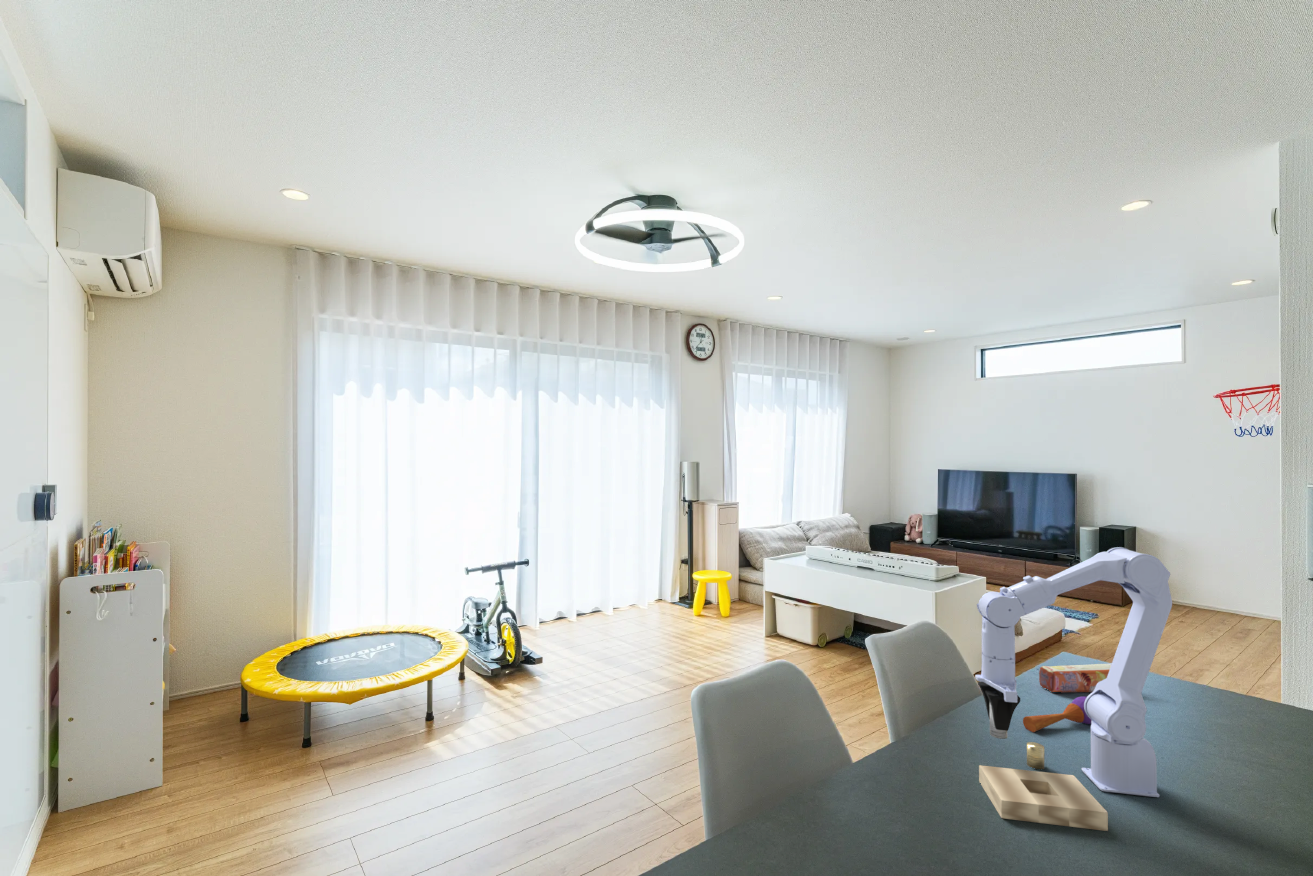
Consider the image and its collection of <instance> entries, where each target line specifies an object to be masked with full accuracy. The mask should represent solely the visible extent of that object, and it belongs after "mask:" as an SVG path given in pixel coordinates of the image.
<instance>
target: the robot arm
mask: <svg viewBox="0 0 1313 876" xmlns="http://www.w3.org/2000/svg"><path fill="white" fill-rule="evenodd" d="M1170 577H1171V572H1170V571H1169V569H1167V567H1166V566H1165V565H1164V563H1163V562H1162V561H1161V560H1160V559H1159V558H1158V557H1156V556H1154V555H1152V554H1147V553H1141V552H1138V551H1135V550H1130V549H1128V548H1126V547H1122V546H1119V547H1118V546H1117V547H1111V548H1109V549H1108V550H1107V551H1101V552H1098V553H1096V554H1094V555H1093V556H1092V557H1090V558H1087V559H1086V560H1084V561H1081V562H1079V563H1077V564H1075V565H1072V566H1070V567H1069V568H1067V569H1064V570H1062V571H1060V572H1057V573H1056V574H1053V575H1051V576H1049V577H1047V578H1043V577H1041V576H1038V575H1035V576H1033V577H1032V576H1031V575H1026V576H1023V578H1022V579H1023V581H1020V582H1017V583H1015V584H1012V585H1011V586H1009V587H1005V586H1002V587H999V592H998V591H989V592H985V593H984V594H983V595H982V596H981V597H980V598H979V601H978V603H977V604H976V608H977V611H978V613H979V614H980V615H981V674H975V677H974V678H975V679H976V681H977V685H978V687H979V689H980V692H981V693H982V696H983V699H984V704H985V707H986V712H987V713H986V714H987V716H988V717H987V718H988V719H989V721H990V704H991V708H992V713H993V720H994V725H995V728H996V729H997V730H1005V731H1007V732H1008V731H1009V730H1010V729H1009V728H1010V725H1011V721H1012V717H1013V714H1014V712H1015V710H1016V708H1017V707H1018V705H1019V704H1020V703H1021V697H1020V696H1019V695H1018V691H1017V680H1016V634H1015V626H1016V625H1017V624H1018V622H1019V621H1020V619H1021V617H1025V616H1027V615H1029V614H1032V613H1035V612H1036V611H1039V610H1041V609H1044V608H1046V607H1049V606H1051V605H1054V604H1055V602H1056V600H1057V597H1058V595H1061V594H1063V593H1067V592H1070V591H1073V590H1075V589H1078V588H1082V587H1084V586H1087V585H1089V584H1093V583H1096V582H1099V581H1103V582H1110V583H1116V584H1118V585H1120V586H1121V587H1122V589H1124V591H1125V592H1126V594H1127V595H1128V596H1129V598H1130V599H1131V601H1132V606H1131V608H1130V611H1129V613H1128V616H1127V620H1126V621H1125V624H1124V628H1123V631H1122V634H1121V636H1120V638H1119V643H1118V645H1117V648H1116V651H1115V654H1114V656H1113V659H1112V662H1111V663H1112V665H1111V667H1110V670H1109V673H1108V676H1107V678H1106V679H1104V680H1102V681H1100V682H1098V683H1097V685H1096V687H1095V689H1094V691H1093V692H1090V694H1088V695H1087V696H1086V697H1087V698H1086V699H1085V702H1084V709H1085V712H1086V714H1087V716H1088V717H1089V718H1090V719H1091V725H1090V768H1089V767H1081V771H1082V772H1083V773H1084V774H1085V776H1086V777H1087V778H1089V780H1091V782H1092V783H1094V785H1095V786H1096V787H1097V788H1098V790H1100V791H1101V792H1107V793H1116V794H1126V795H1135V796H1143V797H1151V798H1152V797H1153V798H1160V794H1159V792H1158V778H1157V777H1158V775H1157V773H1158V771H1157V769H1158V768H1157V765H1158V764H1157V762H1158V761H1157V756H1156V752H1155V750H1154V749H1155V748H1154V747H1153V745H1152V744H1151V742H1150V741H1149V740H1148V739H1147V738H1144V736H1145V735H1146V733H1147V732H1146V731H1147V725H1146V714H1147V711H1148V710H1147V706H1146V703H1145V701H1144V698H1143V695H1142V694H1143V693H1142V692H1143V689H1144V686H1145V684H1146V681H1147V678H1148V676H1149V672H1150V670H1151V667H1152V664H1153V661H1154V659H1155V655H1156V653H1157V650H1158V647H1159V644H1160V641H1161V639H1162V635H1163V633H1164V630H1165V627H1166V624H1167V621H1168V619H1169V616H1170V612H1171V610H1172V608H1173V599H1172V595H1171V594H1172V593H1171V590H1170V585H1169V579H1170Z"/></svg>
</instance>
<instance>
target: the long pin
mask: <svg viewBox="0 0 1313 876" xmlns="http://www.w3.org/2000/svg"><path fill="white" fill-rule="evenodd" d="M989 736H991V737H993V738H996V739H999V740H1005V739H1008V731H1005V730H997V729H996V728H995V725H994V720H993V713H992V708H991V704H990V720H989Z"/></svg>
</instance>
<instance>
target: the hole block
mask: <svg viewBox="0 0 1313 876" xmlns="http://www.w3.org/2000/svg"><path fill="white" fill-rule="evenodd" d="M978 782H979V784H980V783H981V784H980V785H981V787H982V788H983V790H984V791H985V794H986V795H987V796H988V798H989V800H990V801H991V803H992V805H993V806H994V808H995V810H996V811H997V813H998V815H999V816H1000V818H1001V819H1006V820H1014V821H1022V822H1029V823H1030V822H1031V823H1036V824H1037V823H1038V824H1047V825H1056V826H1061V827H1063V826H1064V827H1071V828H1072V827H1073V828H1080V829H1087V830H1096V831H1104V832H1109V824H1108V823H1109V814H1108V810H1106V809H1105V808H1104V806H1103V805H1101V804H1100V802H1099V801H1098V800H1097V799H1096V798H1095V797H1094V796H1093V795H1092V793H1090V792H1089V791H1088V789H1087V788H1086V787H1085V786H1084V785H1083V784H1082V782H1081V781H1080V780H1079V779H1078V778H1077V777H1076V776H1075V775H1073V774H1064V773H1056V772H1048V771H1047V772H1045V771H1039V770H1037V771H1036V770H1028V769H1027V770H1025V769H1017V768H1010V767H1009V768H1008V767H1002V766H1001V767H999V766H990V765H978Z"/></svg>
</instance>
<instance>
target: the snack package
mask: <svg viewBox="0 0 1313 876" xmlns="http://www.w3.org/2000/svg"><path fill="white" fill-rule="evenodd" d="M1111 665H1112V662H1111V663H1096V664H1095V663H1093V664H1091V663H1090V664H1075V665H1074V664H1072V665H1070V664H1069V665H1053V666H1052V665H1051V666H1048V665H1042V666H1041V667H1039V670H1038V671H1039V672H1038V674H1039V675H1038V680H1039V681H1038V682H1039V685H1040V687H1041V686H1042V687H1043V688H1046V689H1048V690H1049V691H1051V692H1050V693H1052V692H1061V693H1092V692H1093V691H1094V689H1095V687H1096V685H1097V683H1098V682H1100V681H1102V680H1104V679H1106V678H1107V676H1108V673H1109V670H1110V667H1111ZM1042 687H1041V688H1042ZM1043 688H1042V689H1043ZM1049 691H1048V692H1049Z"/></svg>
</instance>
